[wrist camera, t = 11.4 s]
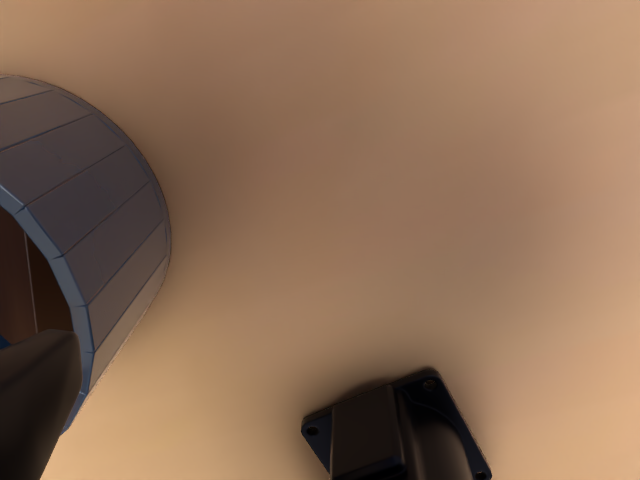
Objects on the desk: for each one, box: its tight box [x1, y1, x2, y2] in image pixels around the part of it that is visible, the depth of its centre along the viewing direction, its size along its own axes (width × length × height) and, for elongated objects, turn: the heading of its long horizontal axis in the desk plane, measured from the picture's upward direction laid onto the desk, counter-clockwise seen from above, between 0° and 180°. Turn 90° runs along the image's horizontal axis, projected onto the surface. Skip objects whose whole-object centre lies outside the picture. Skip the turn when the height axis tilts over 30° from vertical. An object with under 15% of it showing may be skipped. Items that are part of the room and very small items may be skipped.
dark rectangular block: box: [0, 206, 73, 344], centre depth 18 cm, size 7×2×3 cm
